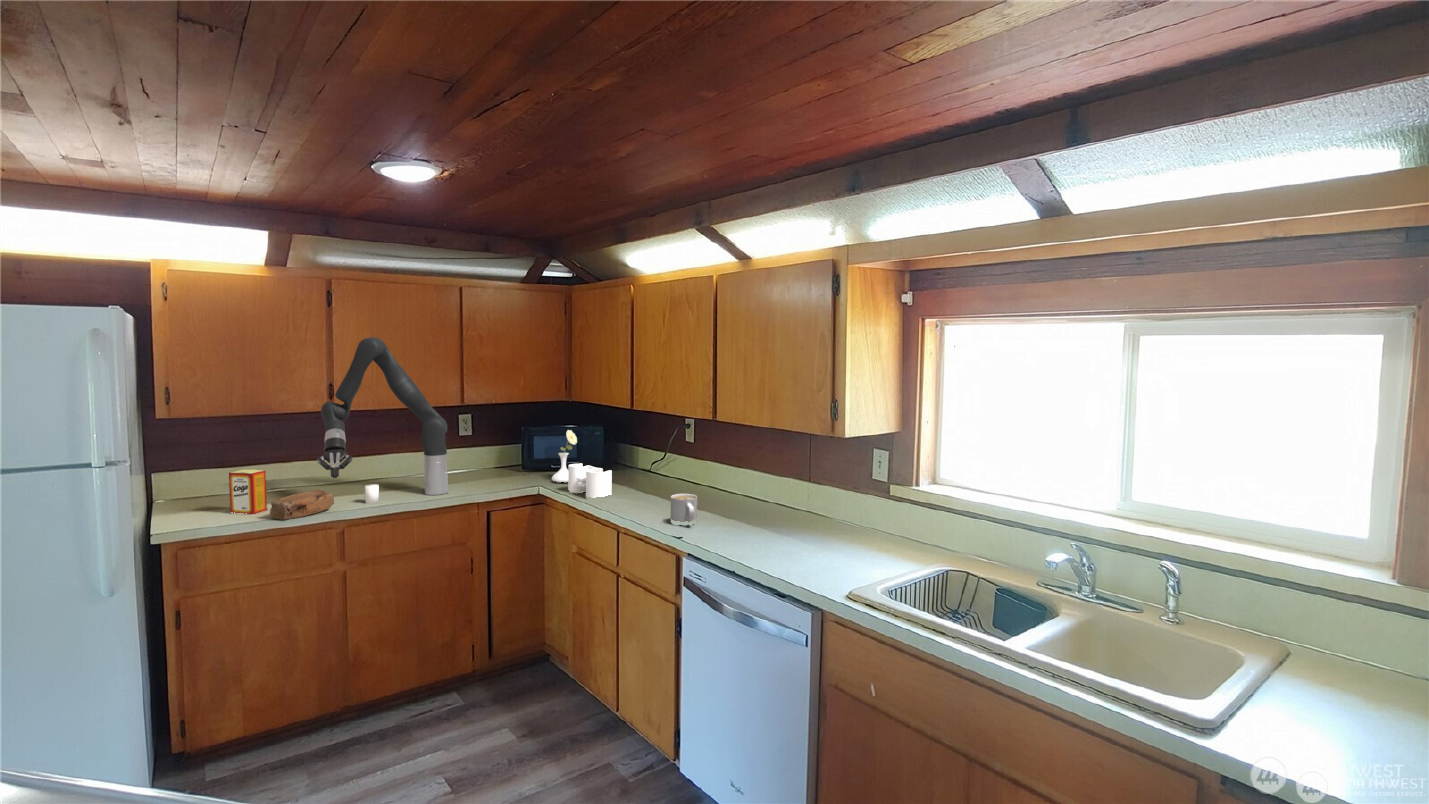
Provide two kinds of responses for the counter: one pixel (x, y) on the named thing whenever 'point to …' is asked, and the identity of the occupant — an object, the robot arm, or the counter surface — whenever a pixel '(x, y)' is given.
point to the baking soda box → (247, 491)
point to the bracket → (589, 480)
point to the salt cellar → (372, 493)
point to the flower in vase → (564, 459)
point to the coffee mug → (683, 507)
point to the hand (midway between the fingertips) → (334, 476)
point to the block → (301, 504)
